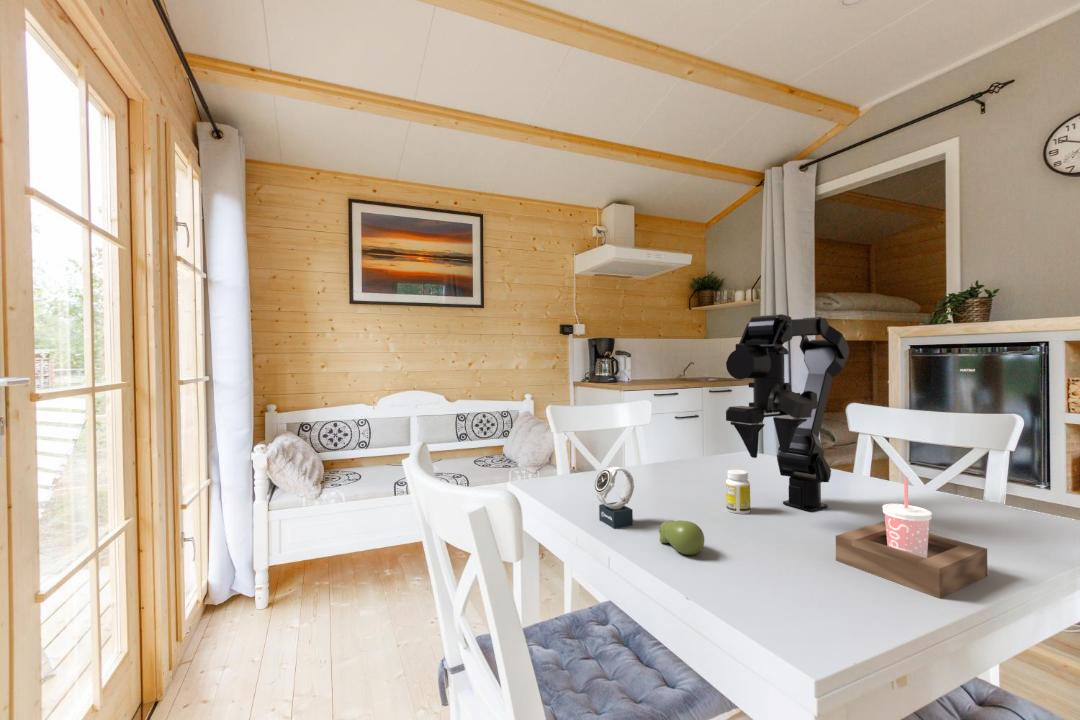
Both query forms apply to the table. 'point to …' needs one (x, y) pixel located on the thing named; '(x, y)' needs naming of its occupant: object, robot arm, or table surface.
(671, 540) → the pear
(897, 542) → the beverage cup
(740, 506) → the supplement bottle
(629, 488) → the watch
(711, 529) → the table surface
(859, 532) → the walnut box
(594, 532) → the table surface
